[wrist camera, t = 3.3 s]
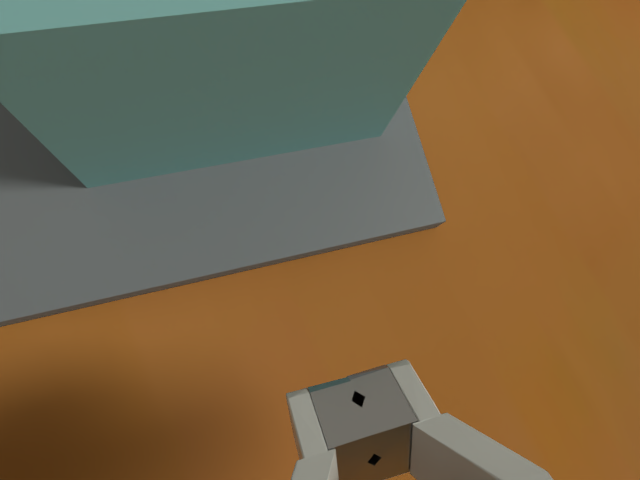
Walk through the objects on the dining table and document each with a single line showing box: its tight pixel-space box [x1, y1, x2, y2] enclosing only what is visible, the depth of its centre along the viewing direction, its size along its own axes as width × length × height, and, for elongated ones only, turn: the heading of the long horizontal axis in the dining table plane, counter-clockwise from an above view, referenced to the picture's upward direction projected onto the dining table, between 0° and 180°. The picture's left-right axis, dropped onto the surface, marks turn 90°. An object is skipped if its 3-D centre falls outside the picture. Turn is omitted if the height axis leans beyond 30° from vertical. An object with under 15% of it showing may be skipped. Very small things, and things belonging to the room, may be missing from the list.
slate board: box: [0, 97, 446, 327], centre depth 23 cm, size 22×27×1 cm
